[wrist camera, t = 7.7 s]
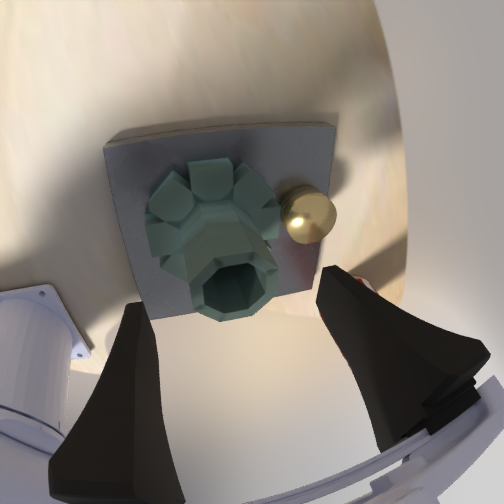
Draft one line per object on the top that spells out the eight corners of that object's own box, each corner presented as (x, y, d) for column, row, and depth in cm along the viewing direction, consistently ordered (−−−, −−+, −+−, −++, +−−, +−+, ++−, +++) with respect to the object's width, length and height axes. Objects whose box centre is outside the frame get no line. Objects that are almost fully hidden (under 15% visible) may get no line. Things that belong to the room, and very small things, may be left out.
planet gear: (159, 278, 18) (166, 353, 13) (137, 169, 14) (128, 229, 9) (269, 259, 19) (303, 325, 15) (275, 154, 15) (326, 202, 11)
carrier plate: (148, 309, 20) (152, 363, 17) (106, 142, 13) (87, 176, 10) (306, 280, 23) (333, 324, 19) (326, 122, 16) (374, 147, 12)
